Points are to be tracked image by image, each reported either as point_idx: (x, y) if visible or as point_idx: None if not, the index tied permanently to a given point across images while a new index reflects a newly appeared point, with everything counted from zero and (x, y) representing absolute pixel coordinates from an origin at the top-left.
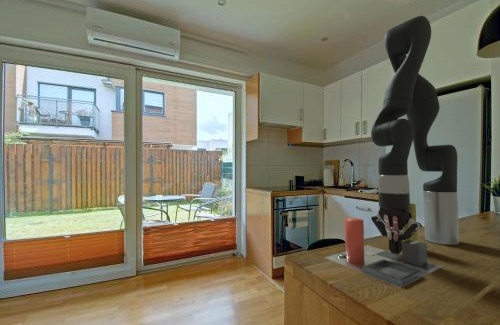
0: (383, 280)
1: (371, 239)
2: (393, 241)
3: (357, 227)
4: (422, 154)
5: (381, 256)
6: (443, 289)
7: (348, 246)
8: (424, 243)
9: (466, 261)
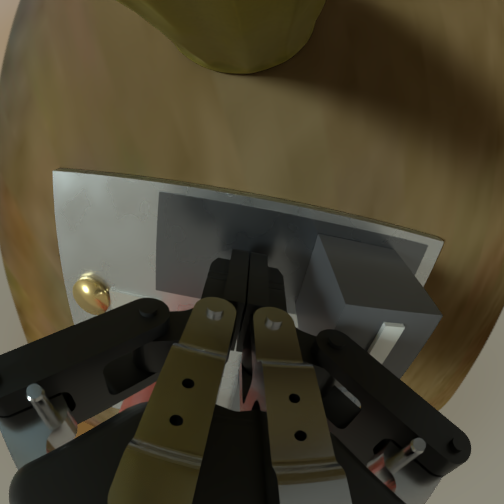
0: None
1: (26, 14)
2: (238, 347)
3: None
4: None
5: (192, 302)
6: (404, 382)
7: None
8: (431, 323)
9: (498, 57)
